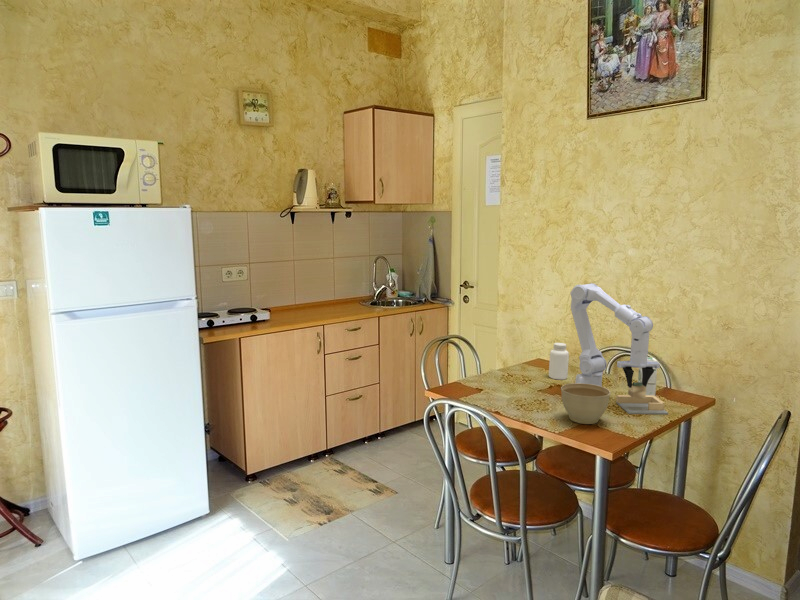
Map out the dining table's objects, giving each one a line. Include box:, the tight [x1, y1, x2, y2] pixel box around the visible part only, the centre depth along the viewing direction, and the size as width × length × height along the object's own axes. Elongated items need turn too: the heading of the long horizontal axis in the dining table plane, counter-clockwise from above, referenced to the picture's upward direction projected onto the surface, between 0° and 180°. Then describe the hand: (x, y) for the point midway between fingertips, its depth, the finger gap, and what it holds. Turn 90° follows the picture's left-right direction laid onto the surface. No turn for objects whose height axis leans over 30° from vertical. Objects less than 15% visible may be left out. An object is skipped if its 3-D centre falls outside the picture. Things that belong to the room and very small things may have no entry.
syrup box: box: [637, 356, 658, 396], centre depth 221 cm, size 6×6×14 cm
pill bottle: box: [548, 342, 570, 381], centre depth 243 cm, size 8×8×15 cm
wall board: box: [616, 394, 669, 415], centre depth 204 cm, size 14×12×3 cm
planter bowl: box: [560, 382, 611, 425], centre depth 192 cm, size 16×16×11 cm
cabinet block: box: [627, 381, 646, 398], centre depth 202 cm, size 4×4×5 cm
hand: (636, 386), depth 203 cm, fingers closed on cabinet block, 4 cm apart
